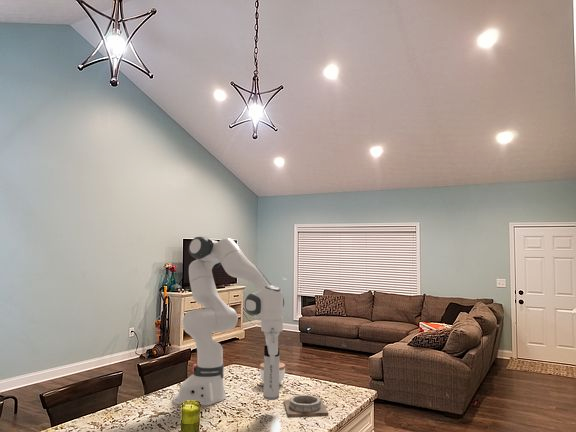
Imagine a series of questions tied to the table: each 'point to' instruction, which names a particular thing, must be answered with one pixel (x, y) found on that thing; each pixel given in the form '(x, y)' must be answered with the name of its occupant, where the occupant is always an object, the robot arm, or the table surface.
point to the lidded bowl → (281, 371)
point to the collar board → (305, 406)
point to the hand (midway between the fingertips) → (271, 361)
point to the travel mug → (271, 376)
